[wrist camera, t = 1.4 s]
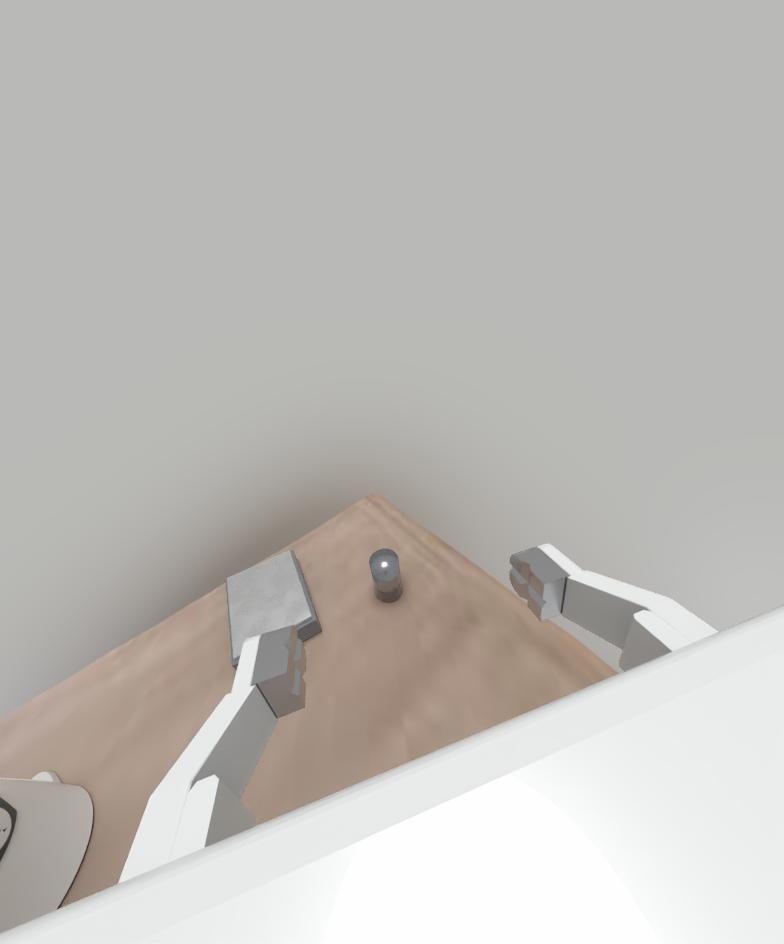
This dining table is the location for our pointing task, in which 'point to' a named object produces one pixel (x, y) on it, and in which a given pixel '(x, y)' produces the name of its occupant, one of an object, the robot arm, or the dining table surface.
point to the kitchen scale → (269, 602)
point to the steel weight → (386, 575)
